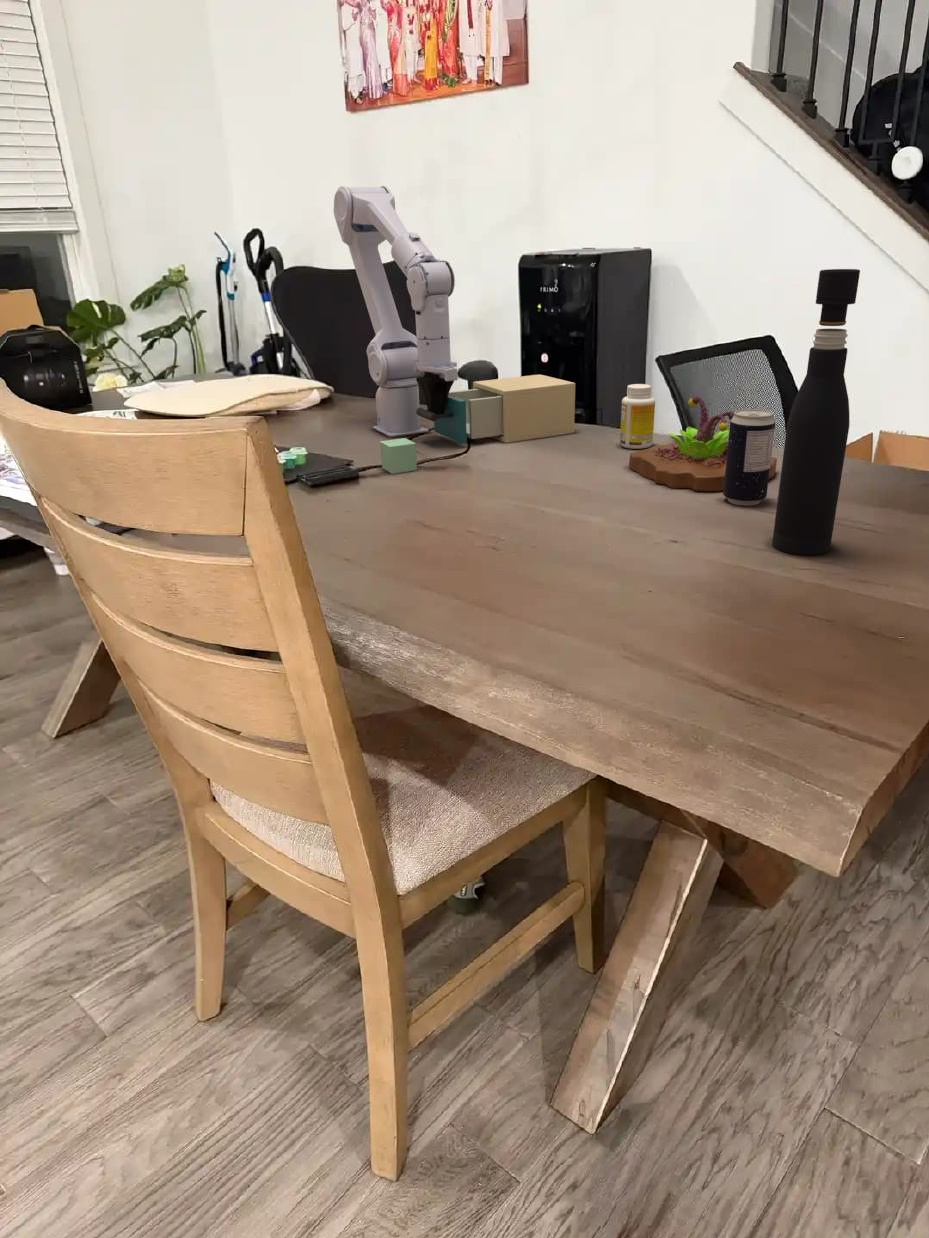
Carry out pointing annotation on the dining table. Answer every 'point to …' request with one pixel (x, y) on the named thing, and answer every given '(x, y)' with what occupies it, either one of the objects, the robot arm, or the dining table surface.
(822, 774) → the dining table surface
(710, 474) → the plant
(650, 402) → the supplement bottle
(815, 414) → the black water bottle
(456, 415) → the drawer
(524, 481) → the dining table surface
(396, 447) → the sage green cube
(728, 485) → the beverage can
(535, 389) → the beige box
